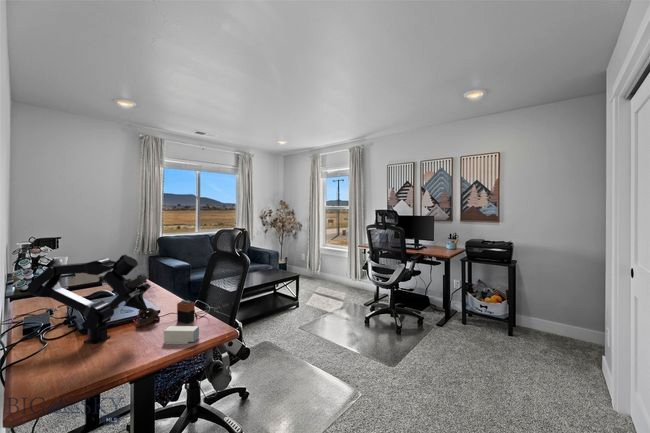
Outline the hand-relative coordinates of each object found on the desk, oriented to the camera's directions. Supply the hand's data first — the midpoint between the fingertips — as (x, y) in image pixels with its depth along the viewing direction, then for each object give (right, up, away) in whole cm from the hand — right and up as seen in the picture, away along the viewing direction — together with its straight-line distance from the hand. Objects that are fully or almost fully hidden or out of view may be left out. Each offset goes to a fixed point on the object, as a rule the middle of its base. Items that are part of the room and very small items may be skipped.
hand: (146, 310), depth 120 cm
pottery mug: (-10, -12, +17) cm, 23 cm away
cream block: (+8, -10, +1) cm, 13 cm away
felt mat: (+13, -13, +1) cm, 18 cm away
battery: (+7, -12, +20) cm, 24 cm away
